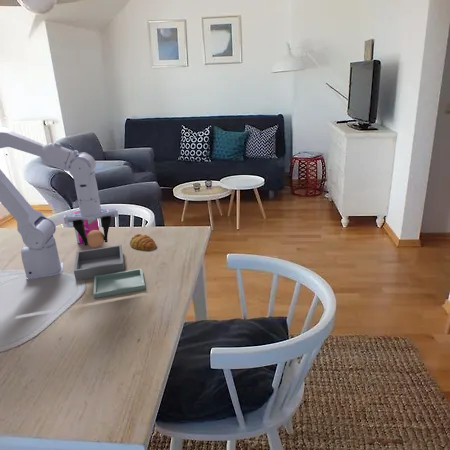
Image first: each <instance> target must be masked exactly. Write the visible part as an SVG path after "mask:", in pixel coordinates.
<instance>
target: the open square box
mask: <svg viewBox="0 0 450 450" xmlns="http://www.w3.org/2000/svg"><path fill="white" fill-rule="evenodd" d="M74 261H75V262H74V268H73V274H74V279H75V281H79V280H86V279H94V276H99V275H105V274H111V273H117V272H123V271H126V270H125V262H124V252H123V245H122V244H119V245H112V246H111V245H110V246H106V247H97V248H93V249H86V250H77V251H76V254H75V260H74Z"/></svg>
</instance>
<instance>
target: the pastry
mask: <svg viewBox="0 0 450 450" xmlns="http://www.w3.org/2000/svg"><path fill="white" fill-rule="evenodd" d="M129 245H130V247H131V248H132V249H136V250H140V251H153V250H155V249H156V248H157V244H156V242H155V241H154V239H153V238H152V237H150V235H146V234H141V233H140V234H139V233H137V234H134V236H133V237H131V239H130V242H129Z"/></svg>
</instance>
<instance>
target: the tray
mask: <svg viewBox="0 0 450 450" xmlns="http://www.w3.org/2000/svg"><path fill="white" fill-rule="evenodd" d="M144 290H146V284H145V278H144V273H143V269H142V268H135V269H130V270H125V271H123V272H117V273H111V274H105V275H99V276H94V278H93V294H92V295H93V299H97V298H103V297H109V296H115V295H120V294H126V293H133V292H138V291H144Z"/></svg>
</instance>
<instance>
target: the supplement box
mask: <svg viewBox="0 0 450 450" xmlns="http://www.w3.org/2000/svg"><path fill="white" fill-rule="evenodd" d="M77 212H80V209H77V210H75V211H73V212H71V214H73V213H77ZM83 222H84V228H85V233H86V237H87V235H88V233H89V232H90V231H92V230H99V231H100V227H99V221H98V219H91V220H83ZM74 233H75V237H76V241H77V242H76V243H77V245H83V244H84V242H83V239H82V238H81V236H80V234H79V233H78V232H77V230H76V229H75V228H74Z"/></svg>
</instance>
